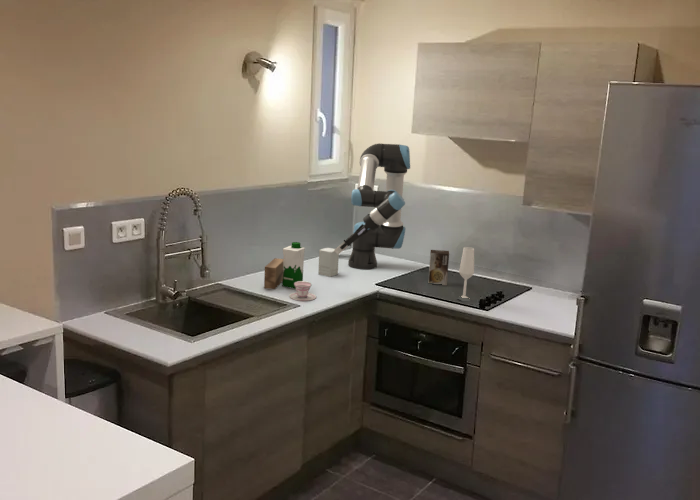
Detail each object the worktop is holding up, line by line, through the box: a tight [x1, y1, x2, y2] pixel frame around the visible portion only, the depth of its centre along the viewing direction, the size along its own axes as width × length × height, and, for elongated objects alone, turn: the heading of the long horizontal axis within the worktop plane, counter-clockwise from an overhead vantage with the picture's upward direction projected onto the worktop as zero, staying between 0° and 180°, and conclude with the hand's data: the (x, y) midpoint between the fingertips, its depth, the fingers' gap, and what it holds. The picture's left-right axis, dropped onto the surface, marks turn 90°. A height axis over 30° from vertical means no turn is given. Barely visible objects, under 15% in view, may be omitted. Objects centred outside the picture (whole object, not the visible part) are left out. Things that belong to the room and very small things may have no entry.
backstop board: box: [263, 257, 284, 290], centre depth 325 cm, size 5×17×10 cm, turn 171°
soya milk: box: [281, 241, 306, 290], centre depth 322 cm, size 9×9×20 cm
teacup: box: [288, 280, 317, 302], centre depth 308 cm, size 12×12×6 cm
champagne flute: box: [458, 246, 475, 298], centre depth 316 cm, size 7×7×24 cm
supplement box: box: [318, 247, 340, 277], centre depth 347 cm, size 7×7×13 cm
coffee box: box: [427, 249, 450, 286], centre depth 341 cm, size 9×6×16 cm
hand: (336, 252), depth 318 cm, fingers closed
